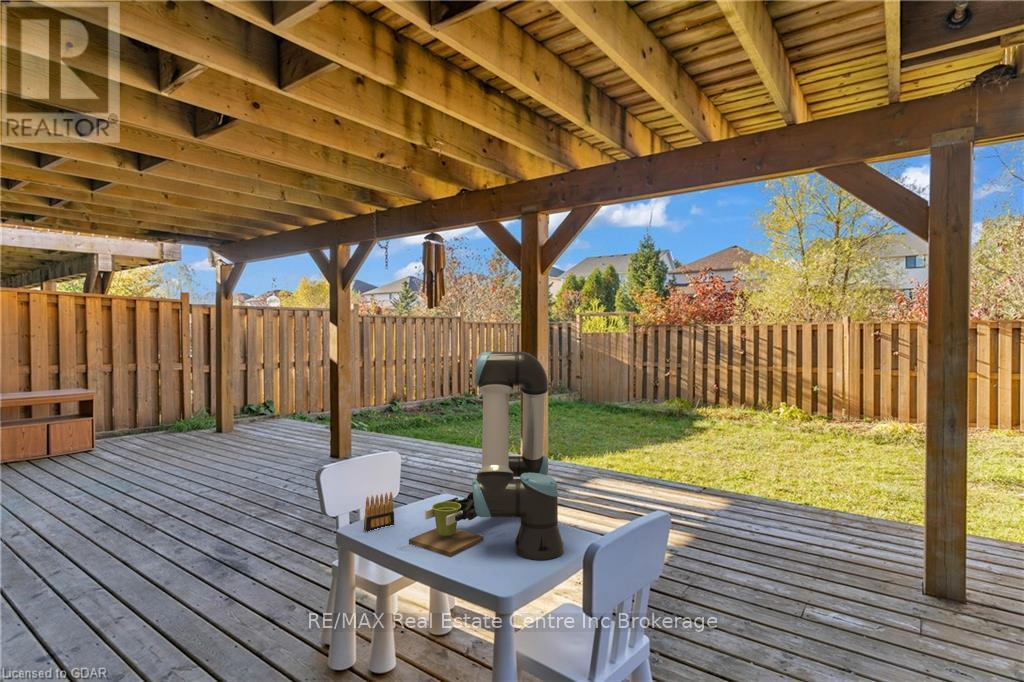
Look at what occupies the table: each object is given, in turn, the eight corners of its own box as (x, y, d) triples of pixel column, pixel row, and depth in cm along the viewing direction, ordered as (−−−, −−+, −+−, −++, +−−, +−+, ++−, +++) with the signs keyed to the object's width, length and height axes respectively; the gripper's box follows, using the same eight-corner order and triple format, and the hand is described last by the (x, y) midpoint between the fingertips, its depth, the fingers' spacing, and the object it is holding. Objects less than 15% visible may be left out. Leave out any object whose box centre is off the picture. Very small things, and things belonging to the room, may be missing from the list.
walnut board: (483, 540, 170) (483, 536, 170) (450, 557, 157) (450, 552, 157) (443, 529, 181) (443, 525, 181) (408, 543, 168) (408, 539, 168)
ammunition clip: (366, 532, 178) (366, 497, 178) (363, 531, 179) (363, 496, 179) (394, 525, 185) (394, 491, 185) (392, 524, 186) (392, 490, 186)
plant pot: (457, 526, 175) (457, 500, 175) (463, 535, 166) (464, 508, 166) (429, 529, 172) (429, 502, 172) (434, 539, 163) (434, 511, 163)
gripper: (505, 516, 178) (461, 537, 159) (458, 505, 190) (413, 523, 172) (505, 494, 178) (461, 512, 159) (458, 484, 190) (413, 500, 172)
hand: (436, 518), depth 165 cm, fingers closed on plant pot, 8 cm apart
